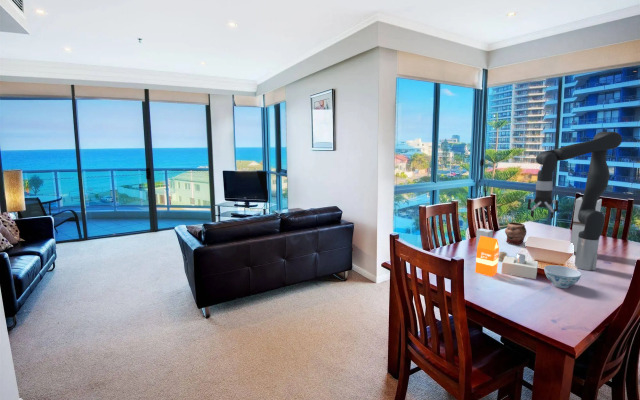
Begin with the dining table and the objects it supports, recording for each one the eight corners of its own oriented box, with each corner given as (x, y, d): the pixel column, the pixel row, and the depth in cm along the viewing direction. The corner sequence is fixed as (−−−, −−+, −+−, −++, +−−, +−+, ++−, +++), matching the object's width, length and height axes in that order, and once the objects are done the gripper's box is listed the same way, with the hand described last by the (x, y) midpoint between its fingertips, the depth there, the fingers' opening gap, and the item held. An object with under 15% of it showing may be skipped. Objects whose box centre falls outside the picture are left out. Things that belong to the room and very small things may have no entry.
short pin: (506, 260, 206) (507, 252, 205) (505, 262, 202) (506, 254, 201) (498, 259, 208) (499, 251, 207) (498, 261, 205) (498, 253, 204)
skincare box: (492, 253, 219) (494, 230, 216) (487, 254, 216) (488, 232, 213) (480, 249, 226) (481, 227, 223) (474, 251, 223) (476, 229, 220)
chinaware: (580, 294, 160) (582, 279, 159) (542, 287, 168) (544, 272, 167) (577, 283, 173) (579, 268, 172) (542, 277, 181) (544, 263, 179)
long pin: (523, 271, 188) (525, 254, 186) (523, 274, 185) (525, 256, 183) (515, 270, 190) (517, 253, 188) (514, 272, 187) (516, 255, 185)
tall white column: (589, 258, 208) (597, 201, 202) (569, 254, 216) (575, 199, 209) (594, 254, 215) (602, 199, 209) (573, 250, 223) (580, 197, 217)
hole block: (536, 271, 188) (538, 261, 187) (535, 279, 178) (537, 268, 177) (504, 266, 197) (504, 256, 196) (501, 272, 187) (502, 262, 186)
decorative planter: (511, 238, 250) (512, 219, 248) (529, 241, 241) (531, 222, 239) (500, 243, 237) (501, 224, 235) (519, 247, 228) (521, 227, 226)
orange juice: (480, 268, 193) (483, 234, 190) (497, 272, 187) (500, 237, 184) (475, 272, 188) (477, 237, 184) (491, 276, 182) (495, 240, 178)
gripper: (559, 188, 186) (557, 217, 189) (529, 187, 194) (527, 215, 197) (560, 190, 180) (557, 220, 183) (528, 189, 188) (526, 218, 191)
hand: (541, 217), depth 190 cm, fingers open, 8 cm apart
